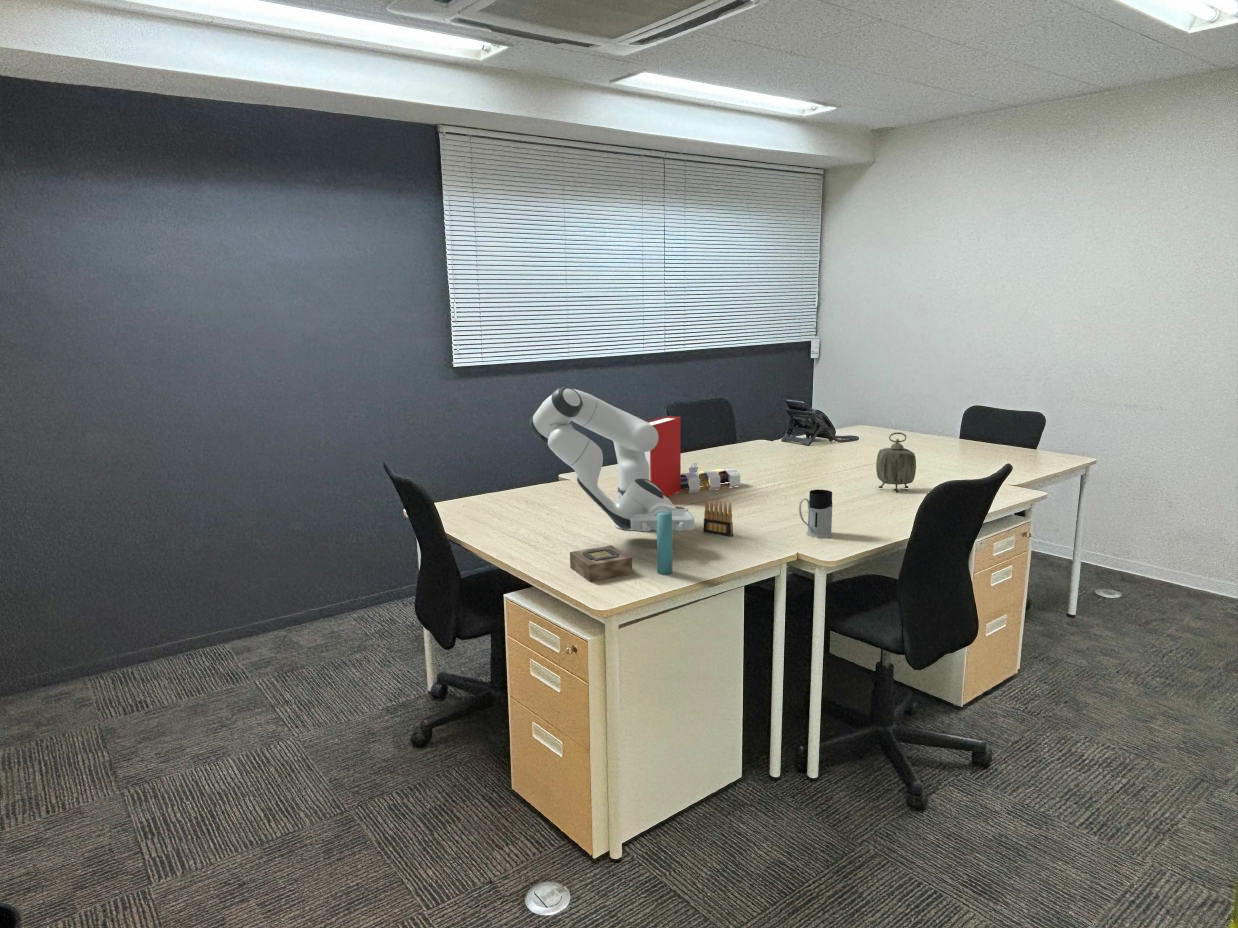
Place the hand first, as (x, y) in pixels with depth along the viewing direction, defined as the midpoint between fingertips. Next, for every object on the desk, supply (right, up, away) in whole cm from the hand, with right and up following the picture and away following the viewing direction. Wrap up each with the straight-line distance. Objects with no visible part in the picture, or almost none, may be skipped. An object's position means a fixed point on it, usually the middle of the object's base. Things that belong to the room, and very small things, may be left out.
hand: (663, 529), depth 238 cm
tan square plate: (-19, -8, -8) cm, 22 cm away
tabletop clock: (+103, +8, +87) cm, 135 cm away
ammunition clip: (+21, -4, +29) cm, 36 cm away
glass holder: (+53, -5, +25) cm, 59 cm away
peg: (0, -12, -9) cm, 15 cm away
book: (+3, +6, +85) cm, 85 cm away
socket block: (-19, -12, -7) cm, 24 cm away
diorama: (+26, +9, +97) cm, 101 cm away
